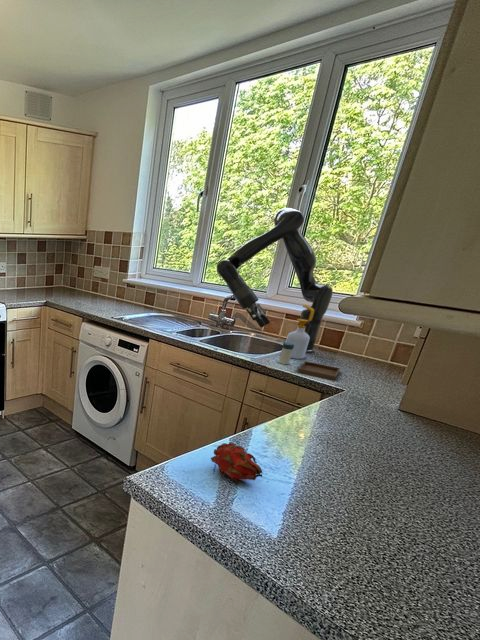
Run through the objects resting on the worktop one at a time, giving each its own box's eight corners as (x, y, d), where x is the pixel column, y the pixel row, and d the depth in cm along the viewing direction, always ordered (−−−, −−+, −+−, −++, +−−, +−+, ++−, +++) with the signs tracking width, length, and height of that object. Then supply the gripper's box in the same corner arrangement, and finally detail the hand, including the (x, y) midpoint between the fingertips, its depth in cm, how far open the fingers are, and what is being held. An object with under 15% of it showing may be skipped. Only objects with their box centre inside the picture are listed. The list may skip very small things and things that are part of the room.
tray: (303, 364, 185) (305, 361, 184) (338, 371, 177) (340, 368, 176) (297, 372, 174) (298, 368, 173) (334, 380, 166) (335, 376, 165)
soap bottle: (286, 352, 203) (300, 303, 194) (306, 357, 196) (322, 306, 187) (279, 355, 197) (293, 304, 188) (299, 360, 191) (315, 308, 182)
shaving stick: (279, 360, 189) (284, 342, 185) (289, 363, 186) (295, 344, 183) (277, 362, 186) (282, 343, 182) (287, 365, 183) (293, 345, 180)
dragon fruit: (208, 466, 104) (251, 497, 95) (197, 458, 98) (243, 490, 89) (228, 440, 103) (274, 469, 95) (219, 430, 97) (267, 460, 89)
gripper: (248, 292, 182) (270, 322, 179) (256, 290, 192) (277, 318, 190) (233, 303, 187) (254, 332, 185) (242, 299, 197) (262, 327, 195)
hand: (265, 325), depth 187 cm, fingers open, 8 cm apart
